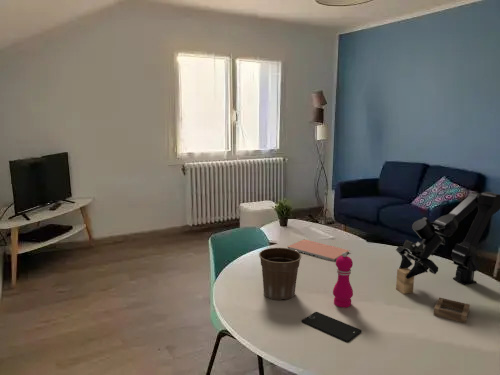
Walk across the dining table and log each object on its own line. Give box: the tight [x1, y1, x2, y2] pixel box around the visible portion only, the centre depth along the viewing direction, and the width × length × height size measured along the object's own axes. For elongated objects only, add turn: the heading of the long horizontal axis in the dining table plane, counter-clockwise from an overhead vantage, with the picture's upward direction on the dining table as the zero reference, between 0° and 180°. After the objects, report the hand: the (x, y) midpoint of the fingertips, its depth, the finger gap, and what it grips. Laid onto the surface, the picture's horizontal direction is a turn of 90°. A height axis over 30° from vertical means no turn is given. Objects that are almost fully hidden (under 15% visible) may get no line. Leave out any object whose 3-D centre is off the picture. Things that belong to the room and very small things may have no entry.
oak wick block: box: [395, 268, 415, 295], centre depth 158 cm, size 4×4×8 cm
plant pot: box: [258, 247, 302, 301], centre depth 155 cm, size 16×16×16 cm
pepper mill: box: [332, 252, 354, 308], centre depth 147 cm, size 7×7×20 cm
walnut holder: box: [433, 296, 471, 324], centre depth 141 cm, size 10×10×2 cm
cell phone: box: [301, 311, 362, 343], centre depth 133 cm, size 9×18×1 cm, turn 46°
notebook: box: [287, 238, 350, 262], centre depth 204 cm, size 27×17×2 cm, turn 49°
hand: (402, 275), depth 157 cm, fingers closed on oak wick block, 4 cm apart
